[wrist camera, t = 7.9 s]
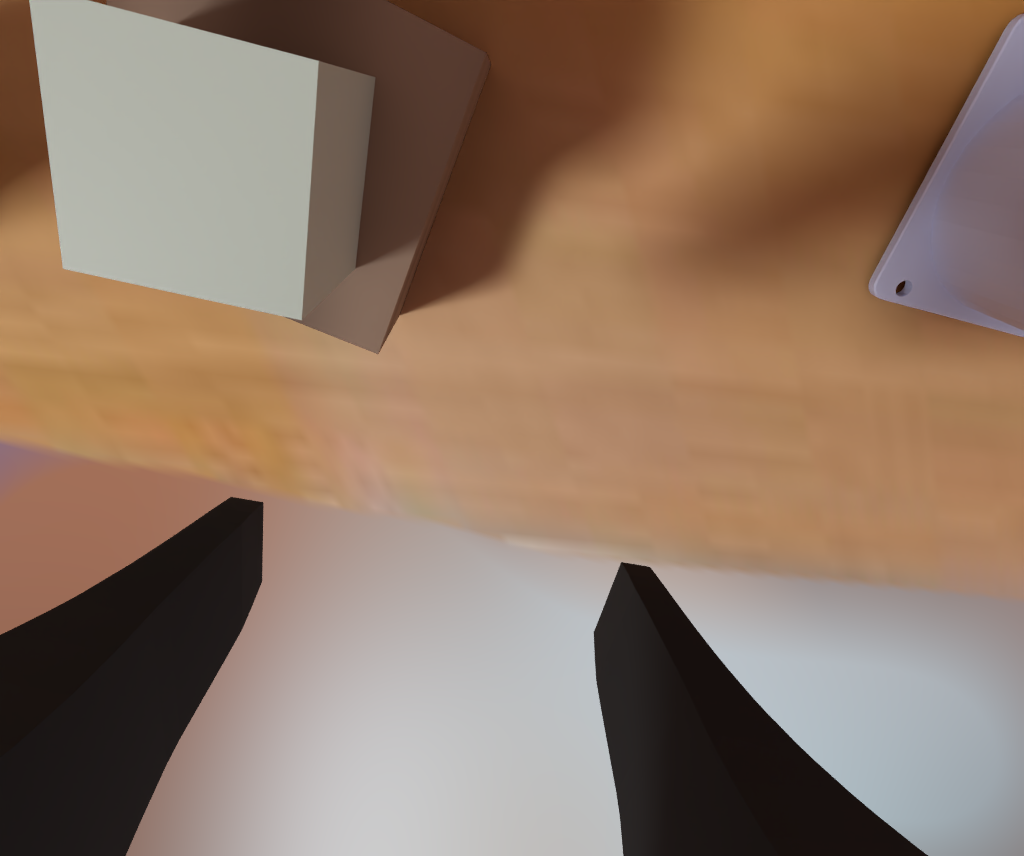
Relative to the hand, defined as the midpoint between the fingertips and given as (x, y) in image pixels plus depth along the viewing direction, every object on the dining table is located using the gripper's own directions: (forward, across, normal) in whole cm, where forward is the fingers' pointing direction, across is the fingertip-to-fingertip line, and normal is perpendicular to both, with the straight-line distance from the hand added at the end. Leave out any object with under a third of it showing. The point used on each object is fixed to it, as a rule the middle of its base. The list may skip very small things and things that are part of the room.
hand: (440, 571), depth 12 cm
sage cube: (+7, +6, -6) cm, 11 cm away
